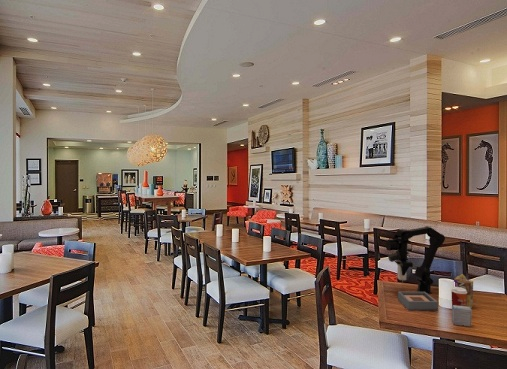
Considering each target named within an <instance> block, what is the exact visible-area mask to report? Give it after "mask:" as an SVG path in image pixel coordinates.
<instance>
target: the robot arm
mask: <svg viewBox="0 0 507 369" xmlns="http://www.w3.org/2000/svg"><path fill="white" fill-rule="evenodd" d="M423 235H426V236H428V237H429V240H428V242H429V247H428V248H427V251H426V254H425V256H424V259H423V261H422V264H421V265H420V266H416V268H415V270H414V276H415V278H416V281H418V283H417V290H416V291H417V292H426V293H427V294H432V293H433V292H432V291H431V290H432V289H431V287H432V286H431V285H433V284H434V280H433V279H432V278H431V267H432V264H433V262H434V259H435V257H436V255H437V252H438V250H439V248H440V247H441V246H443V244H444V242H445V240H446V237H445V235H444V234H442V233H440V232H438V231H437V230H435V229H434V228H433V227H431V226H427V225H426V226H424V227H417V228H412V229H407V228H405V229H404V228H402V229H397V231H396V233H395V234H394V236H393V237H392V239H391V238H390V239H387V241H386V242H385V249H386V251H390V252H391V251H395V253H391V254H388V255H387V258H388V260H389V262H391V263H393V262H394V263H395V264H396V265H397V266H398V264H401V265H400V266H401V269H402V275H405V273H406V274H407V271H408V269H409V268H413V267H414V264H413V262H412V261H410V260H409V258H408V255H409V251H408V244H410V243H411V240H410V239H411V238H413V237H417V236H423ZM411 244H412V243H411Z"/></svg>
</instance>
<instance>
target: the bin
mask: <svg viewBox="0 0 507 369" xmlns="http://www.w3.org/2000/svg"><path fill="white" fill-rule="evenodd" d="M397 300H398V302H400V304H402V306H403V307H404V308H405V309H406V310H407V311H413V312H414V311H418V312H421V311H423V312H424V311H425V312H426V311H427V312H429V311H430V312H432V311H433V312H437V311H439V301H438V300H436V299H435V298H434V297H432V296H431V295H430V294H429V293H426V292H419V291H403V290H402V291H397Z"/></svg>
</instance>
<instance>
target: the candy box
mask: <svg viewBox="0 0 507 369" xmlns="http://www.w3.org/2000/svg"><path fill="white" fill-rule="evenodd" d="M466 279H467V278H466ZM466 279H461V278H457V277H454V278H453V283H454V282H455V287H461V288H464V289H466V291H467V294H466V304H465V307H469V308H470V309H472V308H473V306H474V305H473V304H474V302H473V300H474V280H470V279H467V280H466Z"/></svg>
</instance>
